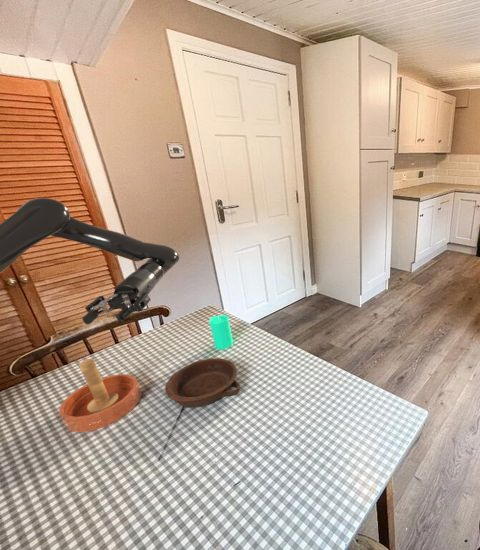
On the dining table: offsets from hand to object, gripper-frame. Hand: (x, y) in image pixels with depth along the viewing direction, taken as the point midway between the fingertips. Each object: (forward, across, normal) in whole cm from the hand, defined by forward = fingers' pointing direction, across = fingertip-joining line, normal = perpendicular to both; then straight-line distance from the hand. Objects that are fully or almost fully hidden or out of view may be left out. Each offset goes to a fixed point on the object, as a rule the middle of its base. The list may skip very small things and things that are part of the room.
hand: (102, 320), depth 80 cm
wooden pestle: (+12, -1, +20) cm, 23 cm away
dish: (+7, +22, +23) cm, 33 cm away
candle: (-15, +19, +27) cm, 36 cm away
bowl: (+12, -1, +21) cm, 24 cm away
